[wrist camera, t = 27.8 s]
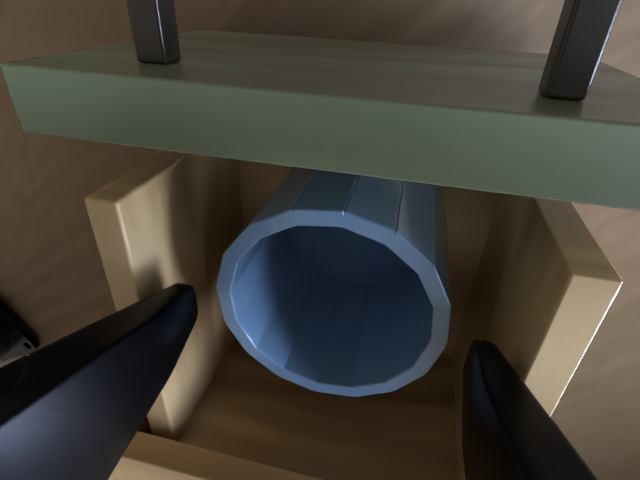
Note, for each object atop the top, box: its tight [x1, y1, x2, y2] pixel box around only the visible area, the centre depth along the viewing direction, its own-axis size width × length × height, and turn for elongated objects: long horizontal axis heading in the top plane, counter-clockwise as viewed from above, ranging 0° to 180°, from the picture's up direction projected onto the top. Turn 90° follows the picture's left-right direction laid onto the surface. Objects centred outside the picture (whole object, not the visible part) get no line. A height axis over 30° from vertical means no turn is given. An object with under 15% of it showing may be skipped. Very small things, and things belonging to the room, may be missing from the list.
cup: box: [216, 167, 452, 397], centre depth 12 cm, size 6×6×5 cm
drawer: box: [0, 0, 640, 480], centre depth 10 cm, size 18×11×7 cm, turn 178°
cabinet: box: [108, 416, 324, 480], centre depth 18 cm, size 13×13×9 cm
